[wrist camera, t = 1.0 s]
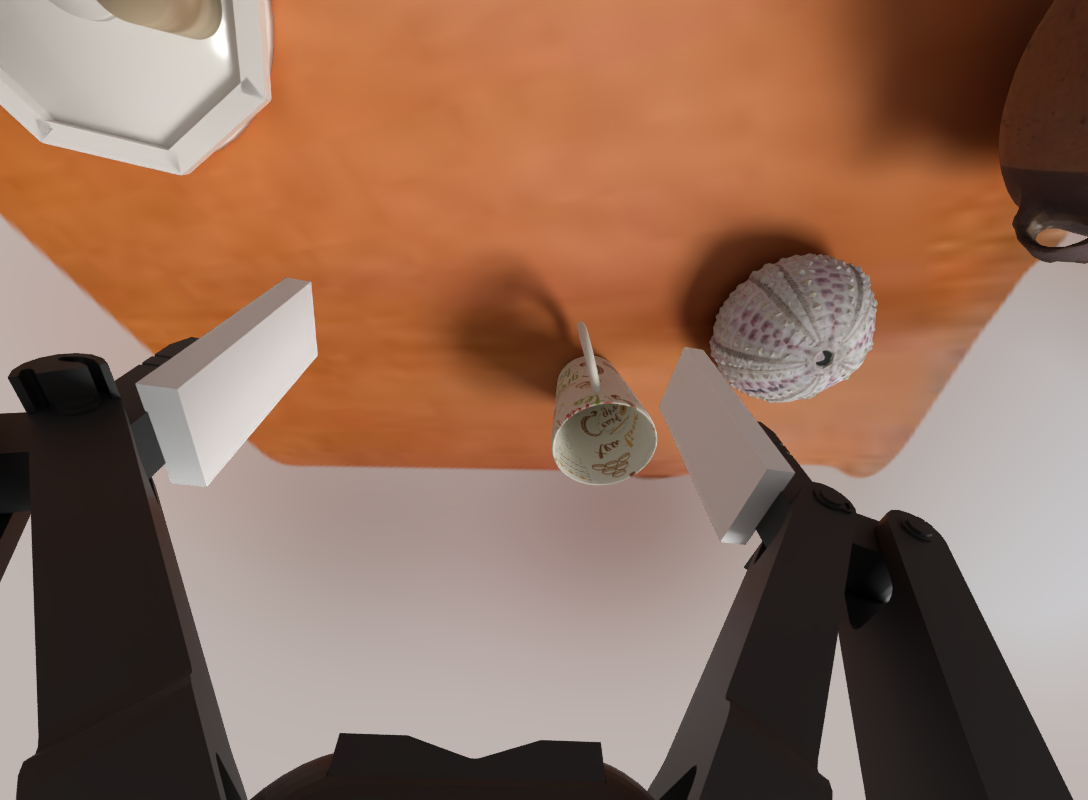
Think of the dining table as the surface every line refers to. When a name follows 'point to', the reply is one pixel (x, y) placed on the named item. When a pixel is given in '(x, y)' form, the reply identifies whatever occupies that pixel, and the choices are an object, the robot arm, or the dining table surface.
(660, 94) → the dining table surface
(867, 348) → the sea urchin shell
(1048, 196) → the vase
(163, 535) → the robot arm
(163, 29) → the beige wooden cylinder
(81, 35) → the groove tray
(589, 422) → the mug
